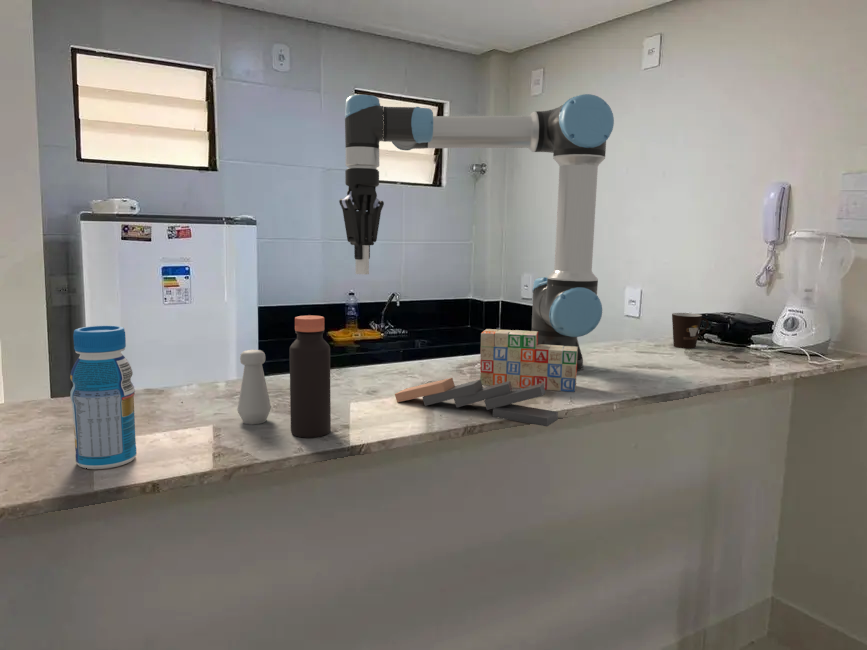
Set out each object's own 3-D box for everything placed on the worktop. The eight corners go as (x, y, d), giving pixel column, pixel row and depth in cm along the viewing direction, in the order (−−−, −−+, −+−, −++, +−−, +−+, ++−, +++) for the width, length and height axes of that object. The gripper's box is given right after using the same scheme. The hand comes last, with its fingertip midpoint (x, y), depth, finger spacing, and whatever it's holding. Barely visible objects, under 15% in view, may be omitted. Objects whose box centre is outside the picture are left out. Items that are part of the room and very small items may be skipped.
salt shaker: (260, 414, 125) (259, 346, 123) (277, 421, 121) (275, 350, 119) (231, 420, 121) (229, 350, 119) (247, 428, 117) (245, 355, 115)
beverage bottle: (88, 475, 94) (80, 335, 91) (65, 461, 99) (56, 328, 96) (147, 460, 100) (141, 328, 97) (123, 447, 105) (116, 322, 102)
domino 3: (484, 400, 127) (539, 386, 124) (489, 396, 132) (542, 383, 129) (486, 409, 127) (542, 395, 124) (491, 405, 132) (545, 392, 129)
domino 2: (453, 398, 130) (508, 383, 128) (457, 395, 135) (509, 380, 133) (456, 407, 130) (510, 392, 128) (460, 403, 135) (512, 389, 133)
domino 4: (492, 408, 126) (547, 418, 120) (504, 402, 130) (558, 411, 125) (492, 418, 126) (547, 428, 120) (504, 411, 131) (557, 421, 125)
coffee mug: (672, 348, 202) (674, 315, 200) (667, 343, 210) (669, 312, 209) (713, 350, 200) (715, 317, 198) (706, 345, 208) (708, 313, 207)
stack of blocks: (576, 386, 152) (579, 333, 150) (575, 392, 146) (577, 337, 144) (484, 379, 157) (485, 327, 156) (479, 385, 151) (480, 331, 150)
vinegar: (296, 426, 118) (294, 314, 115) (334, 427, 118) (333, 315, 115) (286, 438, 111) (284, 319, 109) (326, 439, 111) (325, 320, 108)
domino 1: (422, 397, 132) (473, 384, 128) (431, 392, 137) (480, 379, 133) (424, 405, 132) (475, 393, 128) (433, 400, 137) (483, 387, 133)
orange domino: (394, 393, 135) (442, 382, 130) (406, 388, 140) (452, 377, 135) (397, 402, 135) (444, 391, 130) (408, 396, 140) (454, 386, 135)
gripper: (368, 171, 156) (367, 271, 160) (329, 166, 146) (330, 274, 149) (393, 170, 152) (392, 273, 155) (355, 165, 141) (355, 276, 145)
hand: (362, 273), depth 152 cm, fingers closed
